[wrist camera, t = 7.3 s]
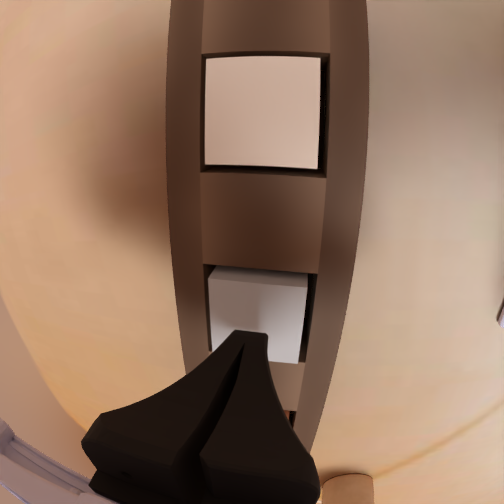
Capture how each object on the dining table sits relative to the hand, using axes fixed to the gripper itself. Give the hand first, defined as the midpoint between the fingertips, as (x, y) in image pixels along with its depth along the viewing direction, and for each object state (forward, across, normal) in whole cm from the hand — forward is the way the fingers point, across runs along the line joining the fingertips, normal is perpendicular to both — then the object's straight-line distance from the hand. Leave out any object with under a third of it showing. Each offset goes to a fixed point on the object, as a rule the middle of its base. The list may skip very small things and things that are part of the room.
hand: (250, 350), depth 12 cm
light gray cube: (+5, 0, 0) cm, 5 cm away
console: (+6, 0, 0) cm, 6 cm away
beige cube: (+5, 0, -9) cm, 10 cm away
